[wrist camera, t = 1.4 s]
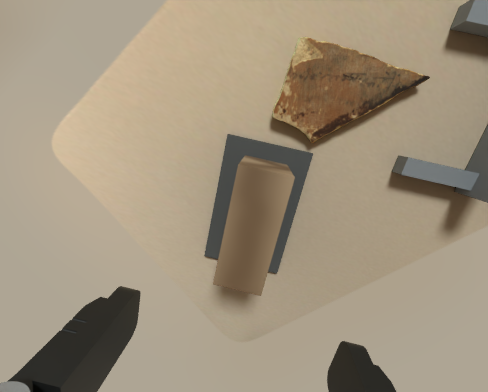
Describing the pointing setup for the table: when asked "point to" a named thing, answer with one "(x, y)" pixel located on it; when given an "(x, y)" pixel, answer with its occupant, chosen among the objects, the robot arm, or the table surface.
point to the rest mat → (231, 159)
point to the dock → (484, 157)
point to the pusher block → (253, 224)
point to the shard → (336, 87)
